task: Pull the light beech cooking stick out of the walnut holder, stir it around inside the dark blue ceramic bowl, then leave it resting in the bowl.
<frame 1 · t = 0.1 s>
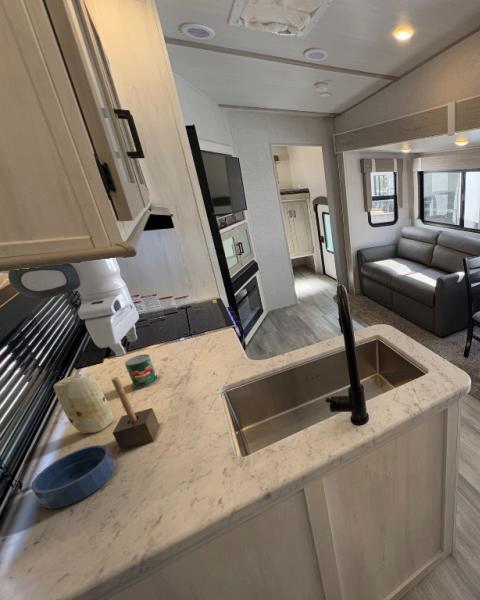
hand: (127, 347, 83), 33 cm above the worktop, tool pointing down, fingers open, 8 cm apart
stick: (128, 409, 93), in the holder
food model: (97, 428, 102), on the worktop
holder: (141, 437, 97), on the worktop
canned tomato: (146, 382, 127), on the worktop
bowl: (81, 483, 82), on the worktop
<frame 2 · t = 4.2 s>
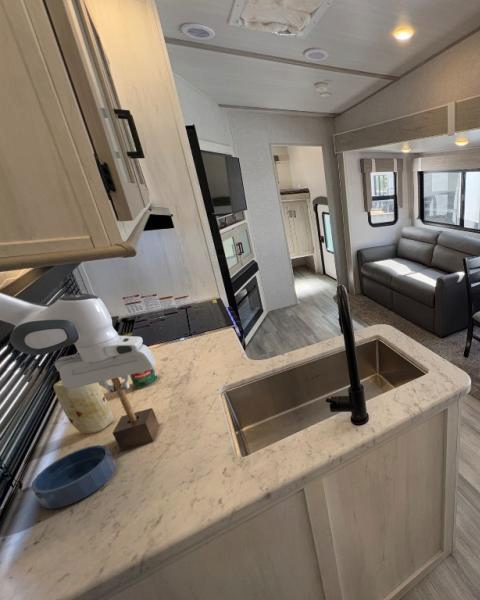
hand: (119, 389, 91), 18 cm above the worktop, tool pointing down, fingers closed on stick, 1 cm apart
stick: (128, 409, 93), in the holder, touching gripper
everything else where it was.
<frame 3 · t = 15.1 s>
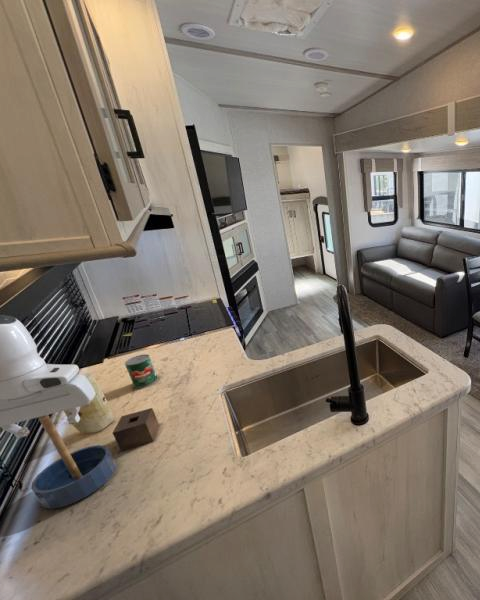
hand: (50, 428, 76), 19 cm above the worktop, tool pointing down, fingers open, 8 cm apart
stick: (62, 450, 78), in the bowl, point 12 cm above the worktop
everything else where it was.
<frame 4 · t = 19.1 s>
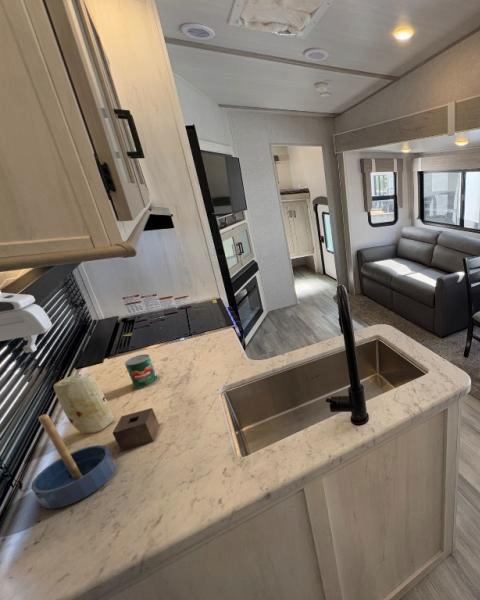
hand: (6, 356, 78), 35 cm above the worktop, tool pointing down, fingers open, 8 cm apart
nothing on the worktop moved.
at the end: stick moved 16.4 cm from its start; stick inside the target area in the bowl (0.0 cm from its centre), point 11.6 cm above the bowl's base; the gripper is holding nothing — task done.
